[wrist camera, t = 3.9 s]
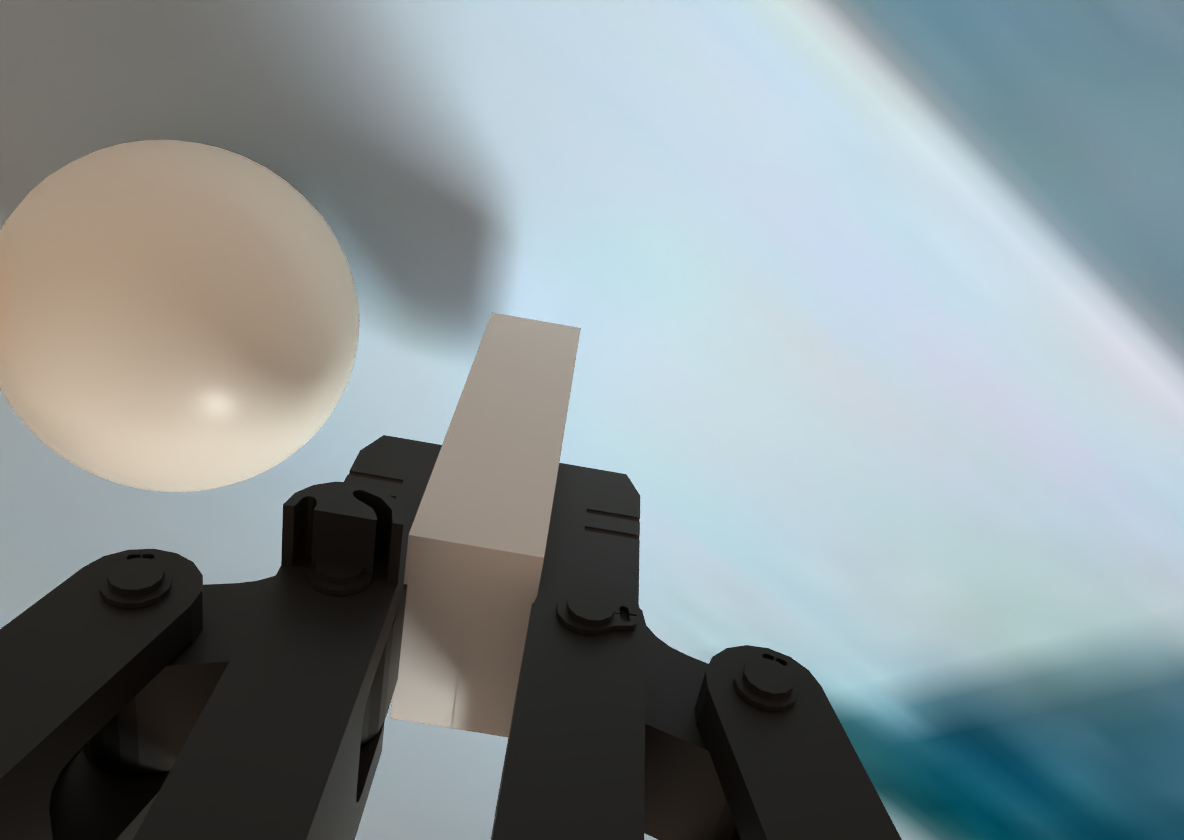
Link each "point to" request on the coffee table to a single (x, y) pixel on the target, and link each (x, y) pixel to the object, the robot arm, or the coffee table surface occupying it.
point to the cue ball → (173, 316)
